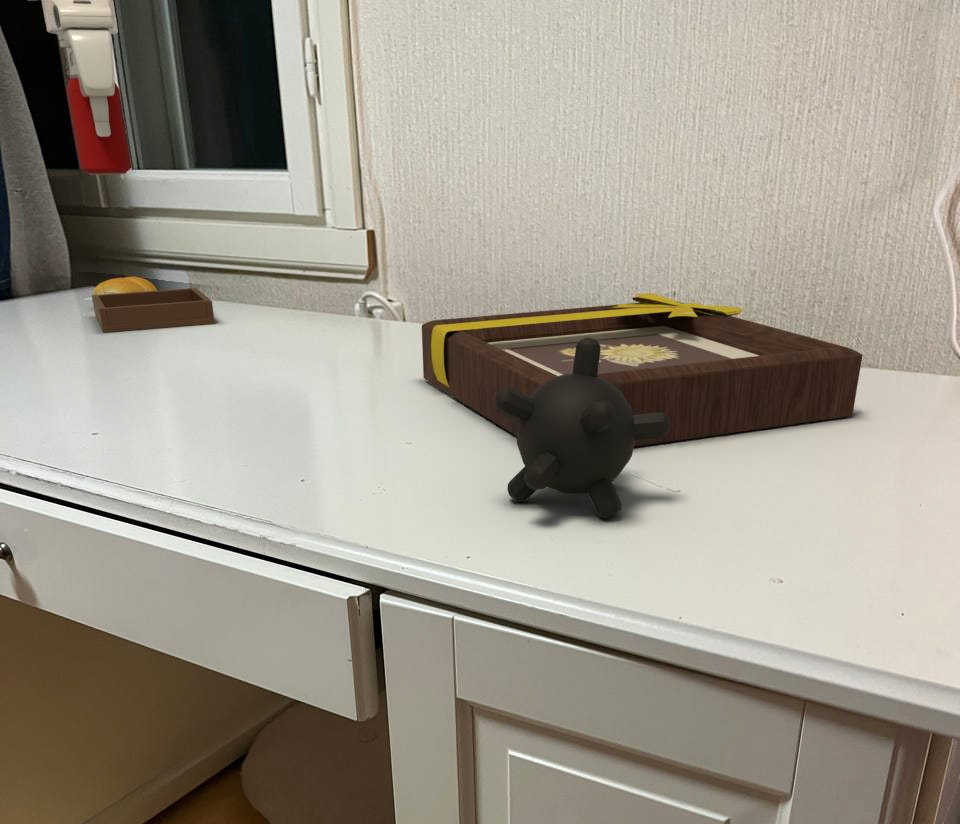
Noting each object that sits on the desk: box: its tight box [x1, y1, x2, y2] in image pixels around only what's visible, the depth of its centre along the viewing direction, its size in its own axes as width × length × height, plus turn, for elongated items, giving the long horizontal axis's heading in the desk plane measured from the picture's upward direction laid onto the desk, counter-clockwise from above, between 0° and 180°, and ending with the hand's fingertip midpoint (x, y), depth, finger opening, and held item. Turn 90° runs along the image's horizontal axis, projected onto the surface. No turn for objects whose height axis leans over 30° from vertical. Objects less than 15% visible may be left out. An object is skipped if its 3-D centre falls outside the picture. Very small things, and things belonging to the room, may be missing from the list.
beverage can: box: [66, 74, 133, 176], centre depth 134 cm, size 7×7×12 cm
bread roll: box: [91, 276, 158, 303], centre depth 138 cm, size 8×9×4 cm
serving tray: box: [91, 287, 216, 333], centre depth 128 cm, size 14×13×3 cm
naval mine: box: [494, 338, 670, 519], centre depth 63 cm, size 11×11×12 cm
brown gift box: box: [421, 293, 863, 448], centre depth 88 cm, size 28×7×30 cm
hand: (101, 136), depth 135 cm, fingers closed on beverage can, 7 cm apart
